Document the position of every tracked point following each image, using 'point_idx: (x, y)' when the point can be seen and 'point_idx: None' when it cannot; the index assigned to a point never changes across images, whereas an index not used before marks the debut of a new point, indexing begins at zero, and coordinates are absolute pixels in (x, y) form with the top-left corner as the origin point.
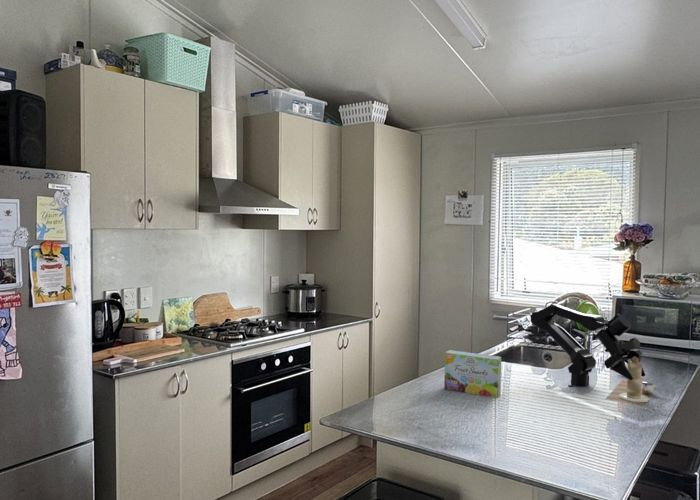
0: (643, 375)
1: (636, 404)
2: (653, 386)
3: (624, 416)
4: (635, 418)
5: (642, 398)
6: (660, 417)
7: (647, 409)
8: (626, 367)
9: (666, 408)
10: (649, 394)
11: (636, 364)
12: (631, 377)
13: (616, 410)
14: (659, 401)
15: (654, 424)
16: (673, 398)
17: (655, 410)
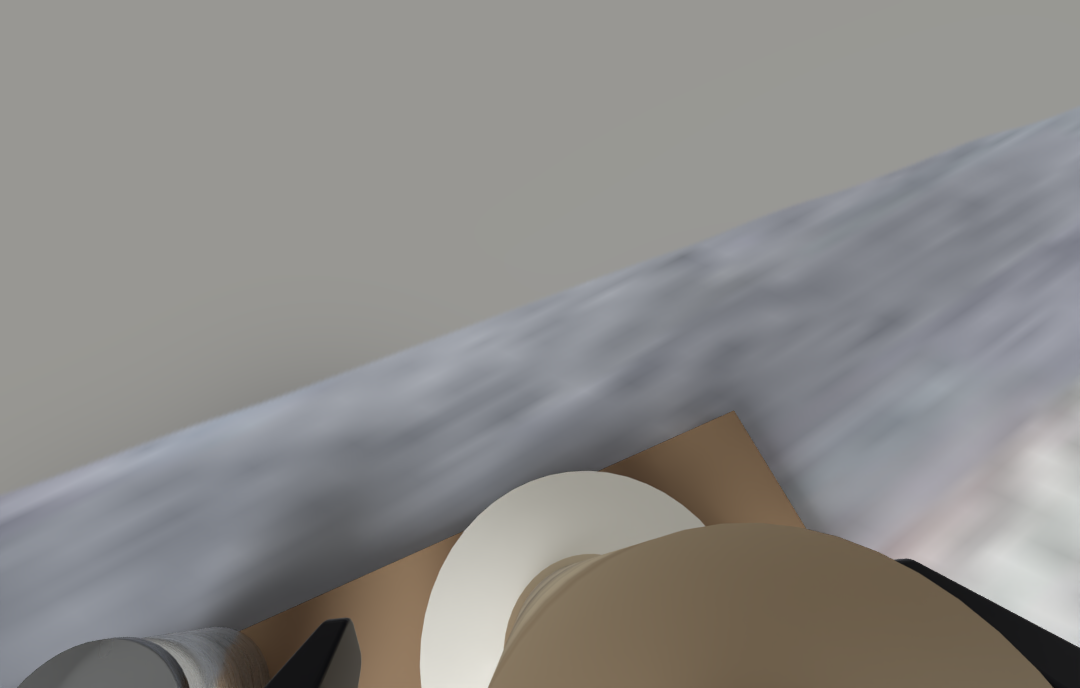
0: (355, 651)
1: (765, 474)
2: None
3: (1062, 382)
4: (996, 313)
5: (554, 542)
6: (769, 244)
7: (688, 401)
8: None
9: (498, 339)
10: (249, 642)
11: (962, 620)
12: (945, 579)
13: (1025, 527)
14: (320, 495)
15: (945, 188)
16: (77, 485)
17: (644, 352)
